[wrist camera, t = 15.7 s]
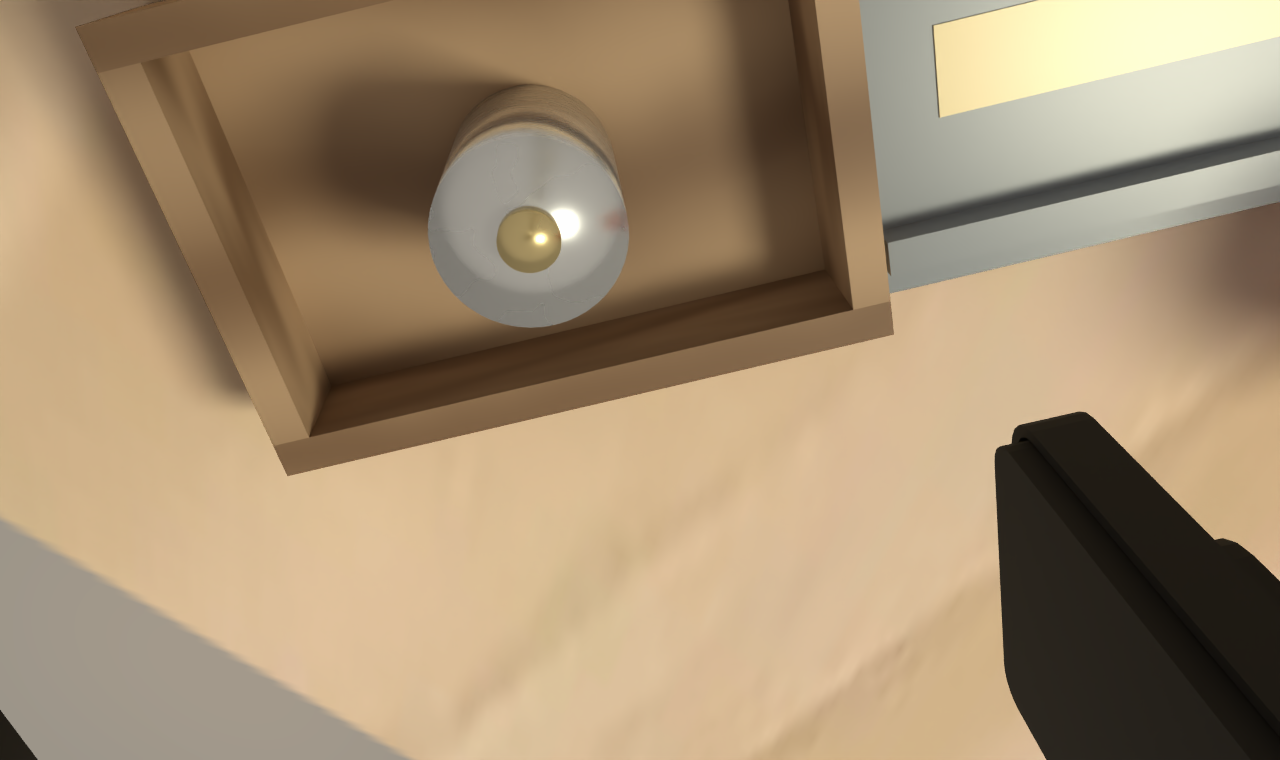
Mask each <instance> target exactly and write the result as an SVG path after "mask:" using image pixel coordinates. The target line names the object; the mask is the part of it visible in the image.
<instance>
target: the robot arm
mask: <svg viewBox="0 0 1280 760" xmlns="http://www.w3.org/2000/svg"><path fill="white" fill-rule="evenodd" d="M995 480H996V501H997V523H998V544H999V565H1000V586H1001V607H1002V628H1003V649H1004V666H1005V673H1006V678H1007V682H1008V685H1009V688H1010V691H1011V694H1012V696H1013V699H1014V701H1015V703H1016V706H1017V708H1018V710H1019V711H1020V713H1021V715H1022V717H1023V719H1024V720H1025V722H1026V724H1027V726H1028V727H1029V729H1030V731H1031V733H1032V735H1033V736H1034V738H1035V740H1036V742H1037V744H1038V745H1039V747H1040V749H1041V751H1042V753H1043V754H1044V756H1045V758H1046V760H1280V581H1279V580H1278V579H1277V578H1276V577H1275V576H1274V575H1273V574H1272V573H1271V572H1270V571H1269V570H1268V569H1267V568H1266V567H1265V566H1264V565H1263V564H1262V563H1261V562H1260V561H1259V560H1258V559H1256V558H1255V557H1254V556H1253V555H1252V554H1251V553H1250V552H1248V551H1247V550H1246V549H1244V548H1243V547H1242V546H1240V545H1239V544H1238V543H1236V542H1233V541H1230V540H1227V539H1223V538H1222V539H1217V540H1214V539H1213V538H1212V537H1211V536H1210V535H1209V534H1208V533H1207V532H1206V531H1205V530H1204V529H1203V528H1202V527H1201V526H1200V525H1199V524H1198V523H1197V522H1196V521H1195V520H1194V519H1193V518H1192V517H1191V516H1190V515H1189V514H1188V513H1187V512H1186V511H1185V510H1184V509H1183V508H1182V507H1181V506H1180V505H1179V504H1178V503H1177V502H1176V501H1175V500H1174V499H1173V498H1172V497H1171V496H1170V495H1169V494H1168V493H1167V492H1166V491H1165V490H1164V489H1163V488H1162V487H1161V486H1160V485H1159V484H1158V483H1157V482H1156V480H1155V479H1154V478H1153V477H1152V476H1151V475H1150V474H1149V473H1148V472H1147V471H1146V470H1145V469H1144V468H1143V467H1142V466H1141V465H1140V464H1139V463H1138V462H1137V461H1136V460H1135V459H1134V458H1133V457H1132V456H1131V455H1130V454H1129V453H1128V452H1127V451H1126V450H1125V449H1124V448H1123V447H1122V446H1121V445H1120V444H1119V443H1118V442H1117V441H1116V440H1115V439H1114V438H1113V437H1112V436H1111V435H1110V434H1109V433H1108V432H1107V431H1106V430H1105V429H1104V428H1103V427H1102V426H1101V425H1100V424H1099V423H1098V422H1097V421H1096V420H1095V419H1094V418H1093V417H1091V416H1090V415H1089V414H1087V413H1086V412H1075V413H1071V414H1066V415H1062V416H1057V417H1053V418H1049V419H1044V420H1040V421H1035V422H1031V423H1027V424H1022V425H1019V426H1017V427H1016V428H1015V429H1014V433H1013V436H1012V444H1009V445H1005V446H1000V447H999V448H997V450H996V453H995ZM0 760H37V758H36V757H35V756H34V754H33V753H32V752H31V750H30V749H29V748H28V746H27V745H26V744H25V742H24V741H23V740H22V738H21V737H20V736H19V734H18V733H17V732H16V730H15V729H14V728H13V726H12V725H11V724H10V722H9V721H8V720H7V718H6V717H5V716H4V714H3V713H2V712H1V710H0Z"/></svg>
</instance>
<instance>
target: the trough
mask: <svg viewBox="0 0 1280 760" xmlns="http://www.w3.org/2000/svg"><path fill="white" fill-rule="evenodd" d="M75 28H76V30H77V32H78V34H79V36H80V38H81V40H82V42H83V44H84V47H85V49H86V51H87V53H88V55H89V57H90V59H91V61H92V64H93V66H94V68H95V70H96V72H97V74H98V76H99V78H100V80H101V83H102V85H103V87H104V89H105V91H106V93H107V95H108V97H109V99H110V102H111V104H112V106H113V108H114V110H115V112H116V114H117V116H118V118H119V121H120V123H121V125H122V127H123V129H124V131H125V133H126V135H127V138H128V140H129V142H130V144H131V146H132V148H133V150H134V152H135V154H136V157H137V159H138V161H139V163H140V165H141V167H142V169H143V171H144V173H145V176H146V178H147V180H148V182H149V184H150V186H151V188H152V190H153V192H154V195H155V197H156V199H157V201H158V203H159V205H160V207H161V209H162V212H163V214H164V216H165V218H166V220H167V222H168V224H169V226H170V228H171V231H172V233H173V235H174V237H175V239H176V241H177V243H178V245H179V247H180V250H181V252H182V254H183V256H184V258H185V260H186V262H187V264H188V266H189V269H190V271H191V273H192V275H193V277H194V279H195V281H196V283H197V286H198V288H199V290H200V292H201V294H202V296H203V298H204V300H205V302H206V305H207V307H208V309H209V311H210V313H211V315H212V317H213V319H214V321H215V324H216V326H217V328H218V330H219V332H220V334H221V336H222V338H223V340H224V343H225V345H226V347H227V349H228V351H229V353H230V355H231V357H232V360H233V362H234V364H235V366H236V368H237V370H238V372H239V374H240V376H241V379H242V381H243V383H244V385H245V387H246V389H247V391H248V393H249V395H250V398H251V400H252V402H253V404H254V406H255V408H256V410H257V412H258V414H259V417H260V419H261V421H262V423H263V425H264V427H265V429H266V431H267V434H268V436H269V438H270V440H271V442H272V444H273V446H274V448H275V450H276V453H277V455H278V457H279V459H280V461H281V463H282V465H283V467H284V469H285V472H286V474H287V476H290V475H294V474H298V473H303V472H307V471H311V470H316V469H320V468H324V467H328V466H333V465H337V464H341V463H346V462H350V461H354V460H358V459H363V458H367V457H371V456H376V455H380V454H384V453H388V452H393V451H397V450H401V449H405V448H410V447H414V446H418V445H423V444H427V443H431V442H435V441H440V440H444V439H448V438H453V437H457V436H461V435H465V434H470V433H474V432H478V431H483V430H487V429H491V428H495V427H500V426H504V425H508V424H512V423H517V422H521V421H525V420H530V419H534V418H538V417H542V416H547V415H551V414H555V413H560V412H564V411H568V410H572V409H577V408H581V407H585V406H590V405H594V404H598V403H602V402H607V401H611V400H615V399H620V398H624V397H628V396H632V395H637V394H641V393H645V392H649V391H654V390H658V389H662V388H667V387H671V386H675V385H679V384H684V383H688V382H692V381H697V380H701V379H705V378H709V377H714V376H718V375H722V374H727V373H731V372H735V371H739V370H744V369H748V368H752V367H756V366H761V365H765V364H769V363H774V362H778V361H782V360H786V359H791V358H795V357H799V356H804V355H808V354H812V353H816V352H821V351H825V350H829V349H834V348H838V347H842V346H846V345H851V344H855V343H859V342H864V341H868V340H872V339H876V338H881V337H885V336H889V335H893V334H894V331H893V321H892V312H891V302H890V292H889V283H888V273H887V264H886V254H885V245H884V235H883V225H882V216H881V206H880V197H879V187H878V177H877V168H876V158H875V149H874V139H873V129H872V120H871V110H870V101H869V91H868V81H867V72H866V62H865V53H864V43H863V34H862V24H861V14H860V5H859V0H164V1H160V2H156V3H152V4H148V5H144V6H141V7H138V8H135V9H131V10H128V11H125V12H122V13H119V14H115V15H112V16H109V17H106V18H103V19H99V20H96V21H93V22H90V23H87V24H83V25H80V26H77V27H75ZM519 85H543V86H548V87H552V88H556V89H559V90H561V91H564V92H566V93H568V94H570V95H572V96H574V97H576V98H577V99H578V100H580V101H581V102H583V103H584V104H585V105H586V106H587V107H588V108H589V109H590V110H592V111H593V113H594V114H595V115H596V116H597V118H598V119H599V120H600V122H601V123H602V125H603V126H604V128H605V130H606V132H607V134H608V136H609V139H610V142H611V145H612V149H613V153H614V158H615V162H616V167H617V171H618V176H619V181H620V185H621V190H622V195H623V199H624V204H625V208H626V213H627V219H628V225H629V243H628V251H627V255H626V259H625V263H624V265H623V268H622V270H621V273H620V275H619V277H618V278H617V280H616V282H615V284H614V285H613V286H612V288H611V289H610V290H609V292H608V293H607V294H606V295H605V296H604V297H603V298H602V299H601V300H600V301H599V302H598V303H597V304H596V305H595V306H593V307H592V308H591V309H589V310H588V311H586V312H585V313H583V314H581V315H580V316H578V317H576V318H573V319H571V320H569V321H566V322H563V323H560V324H556V325H552V326H546V327H534V328H527V327H516V326H510V325H505V324H502V323H499V322H496V321H492V320H490V319H488V318H486V317H484V316H481V315H480V314H478V313H476V312H475V311H473V310H472V309H470V308H469V307H467V306H466V305H465V304H464V303H462V302H461V301H460V300H459V299H458V298H457V297H456V296H455V295H454V294H453V293H452V292H451V291H450V289H449V288H448V287H447V285H446V284H445V283H444V281H443V280H442V278H441V276H440V274H439V273H438V271H437V269H436V266H435V264H434V261H433V259H432V255H431V251H430V247H429V240H428V219H429V213H430V208H431V205H432V202H433V198H434V195H435V193H436V190H437V187H438V184H439V182H440V179H441V176H442V173H443V171H444V168H445V165H446V162H447V160H448V157H449V154H450V151H451V149H452V146H453V143H454V140H455V138H456V135H457V133H458V130H459V128H460V126H461V124H462V123H463V121H464V120H465V118H466V117H467V115H468V114H469V113H470V112H471V111H472V109H473V108H474V107H475V106H477V105H478V104H479V103H480V102H481V101H482V100H484V99H485V98H487V97H488V96H490V95H492V94H494V93H496V92H498V91H500V90H503V89H506V88H509V87H513V86H519Z"/></svg>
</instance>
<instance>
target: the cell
mask: <svg viewBox="0 0 1280 760" xmlns="http://www.w3.org/2000/svg"><path fill="white" fill-rule="evenodd" d="M428 240H429V247H430V251H431V255H432V259H433V261H434V264H435V266H436V269H437V271H438V273H439V274H440V276H441V278H442V280H443V281H444V283H445V284H446V285H447V287H448V288H449V289H450V291H451V292H452V293H453V294H454V295H455V296H456V297H457V298H458V299H459V300H460V301H461V302H462V303H464V304H465V305H466V306H467V307H469V308H470V309H472V310H473V311H475V312H476V313H478V314H480V315H481V316H484V317H486V318H488V319H490V320H492V321H496V322H499V323H502V324H505V325H510V326H516V327H527V328H534V327H546V326H552V325H556V324H560V323H563V322H566V321H569V320H571V319H573V318H576V317H578V316H580V315H581V314H583V313H585V312H586V311H588V310H589V309H591V308H592V307H593V306H595V305H596V304H597V303H598V302H599V301H600V300H601V299H602V298H603V297H604V296H605V295H606V294H607V293H608V292H609V290H610V289H611V288H612V286H613V285H614V284H615V282H616V280H617V278H618V277H619V275H620V273H621V270H622V268H623V265H624V263H625V259H626V255H627V251H628V243H629V225H628V219H627V213H626V208H625V204H624V199H623V195H622V190H621V185H620V181H619V176H618V171H617V167H616V162H615V158H614V153H613V149H612V145H611V142H610V139H609V136H608V134H607V132H606V130H605V128H604V126H603V125H602V123H601V122H600V120H599V119H598V118H597V116H596V115H595V114H594V113H593V111H592V110H590V109H589V108H588V107H587V106H586V105H585V104H584V103H583V102H581V101H580V100H578V99H577V98H576V97H574V96H572V95H570V94H568V93H566V92H564V91H561V90H559V89H556V88H552V87H548V86H543V85H519V86H513V87H509V88H506V89H503V90H500V91H498V92H496V93H494V94H492V95H490V96H488V97H487V98H485V99H484V100H482V101H481V102H480V103H479V104H478V105H477V106H475V107H474V108H473V109H472V111H471V112H470V113H469V114H468V115H467V117H466V118H465V120H464V121H463V123H462V124H461V126H460V128H459V130H458V133H457V135H456V138H455V140H454V143H453V146H452V149H451V151H450V154H449V157H448V160H447V162H446V165H445V168H444V171H443V173H442V176H441V179H440V182H439V184H438V187H437V190H436V193H435V195H434V198H433V202H432V205H431V208H430V213H429V219H428Z"/></svg>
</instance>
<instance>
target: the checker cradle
mask: <svg viewBox="0 0 1280 760" xmlns="http://www.w3.org/2000/svg"><path fill="white" fill-rule="evenodd" d="M859 5H860V14H861V24H862V34H863V43H864V53H865V62H866V72H867V81H868V91H869V101H870V110H871V120H872V129H873V139H874V149H875V158H876V168H877V177H878V187H879V197H880V206H881V216H882V225H883V235H884V245H885V254H886V264H887V273H888V283H889V292H890V293H894V292H898V291H902V290H907V289H911V288H915V287H919V286H924V285H928V284H932V283H936V282H941V281H945V280H949V279H953V278H958V277H962V276H966V275H970V274H975V273H979V272H983V271H987V270H992V269H996V268H1000V267H1005V266H1009V265H1013V264H1017V263H1022V262H1026V261H1030V260H1034V259H1039V258H1043V257H1047V256H1051V255H1056V254H1060V253H1064V252H1068V251H1073V250H1077V249H1081V248H1085V247H1090V246H1094V245H1098V244H1102V243H1107V242H1111V241H1115V240H1119V239H1124V238H1128V237H1132V236H1137V235H1141V234H1145V233H1149V232H1154V231H1158V230H1162V229H1166V228H1171V227H1175V226H1179V225H1183V224H1188V223H1192V222H1196V221H1200V220H1205V219H1209V218H1213V217H1217V216H1222V215H1226V214H1230V213H1234V212H1239V211H1243V210H1247V209H1251V208H1256V207H1260V206H1264V205H1269V204H1273V203H1277V202H1280V0H859Z"/></svg>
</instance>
